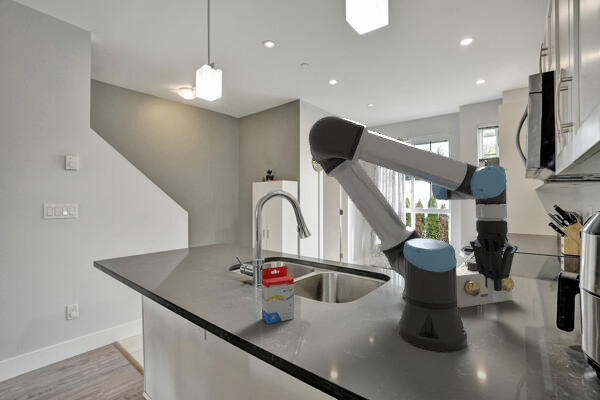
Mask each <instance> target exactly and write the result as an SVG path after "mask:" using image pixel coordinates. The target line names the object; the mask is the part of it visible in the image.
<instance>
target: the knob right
mask: <svg viewBox="0 0 600 400" xmlns="http://www.w3.org/2000/svg"><path fill="white" fill-rule="evenodd" d="M514 287H515V282H514V280H513V278H512V277H511V278H506V279H502V290H504V291H508V292H510V291H511V290H512V291H513V290H514Z"/></svg>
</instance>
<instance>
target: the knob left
mask: <svg viewBox="0 0 600 400" xmlns="http://www.w3.org/2000/svg"><path fill="white" fill-rule="evenodd" d="M464 291H465V293H466V294H469V295H472V296H477V295H478V294H479V293H480V285H479V283H477V282H474V281H471V280H469V281H467V282H466V283H465V284H464Z"/></svg>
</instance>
